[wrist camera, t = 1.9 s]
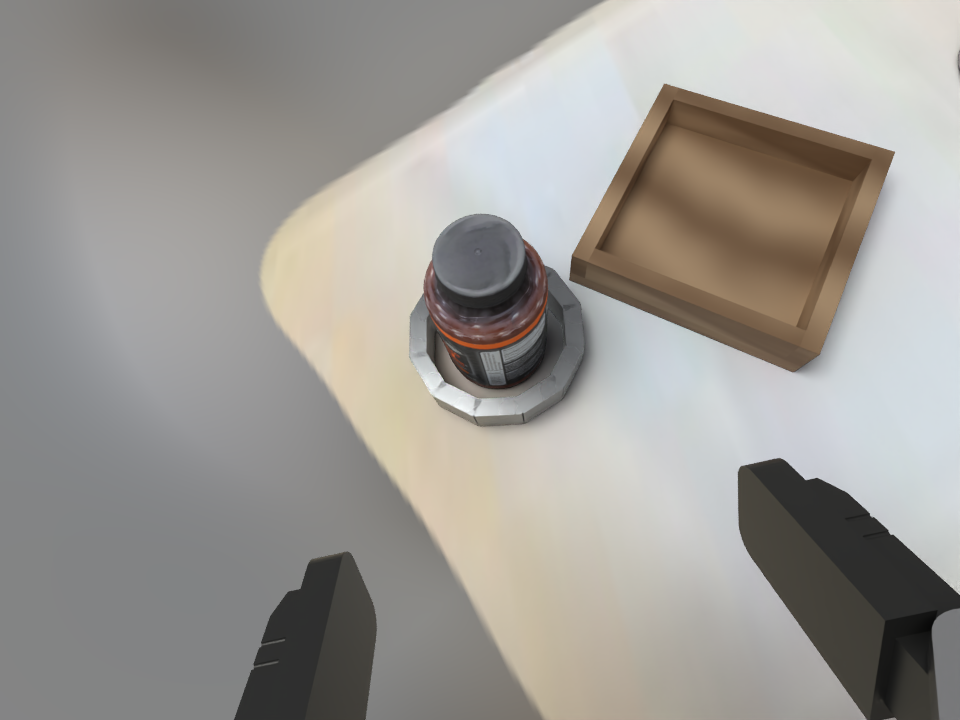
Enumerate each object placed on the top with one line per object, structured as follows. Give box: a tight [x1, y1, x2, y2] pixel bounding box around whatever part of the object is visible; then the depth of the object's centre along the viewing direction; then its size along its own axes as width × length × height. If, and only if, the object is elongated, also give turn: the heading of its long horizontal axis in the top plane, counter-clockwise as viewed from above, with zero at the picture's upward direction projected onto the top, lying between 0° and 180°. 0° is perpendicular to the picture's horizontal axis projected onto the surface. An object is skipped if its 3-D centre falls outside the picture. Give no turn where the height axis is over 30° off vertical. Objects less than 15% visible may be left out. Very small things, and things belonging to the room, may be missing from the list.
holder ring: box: [409, 265, 585, 426], centre depth 31 cm, size 10×10×2 cm
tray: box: [569, 84, 895, 372], centre depth 32 cm, size 14×14×3 cm
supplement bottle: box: [424, 214, 548, 389], centre depth 27 cm, size 6×6×11 cm
